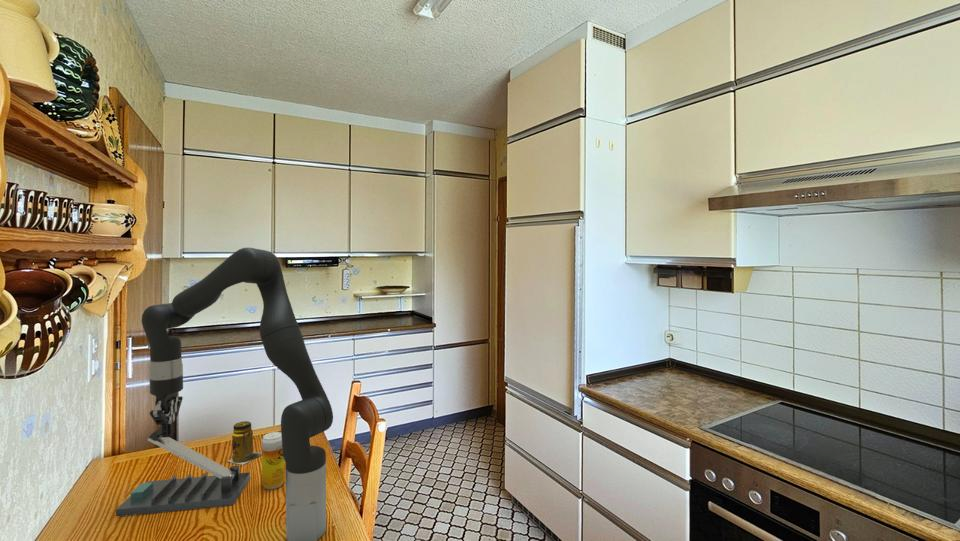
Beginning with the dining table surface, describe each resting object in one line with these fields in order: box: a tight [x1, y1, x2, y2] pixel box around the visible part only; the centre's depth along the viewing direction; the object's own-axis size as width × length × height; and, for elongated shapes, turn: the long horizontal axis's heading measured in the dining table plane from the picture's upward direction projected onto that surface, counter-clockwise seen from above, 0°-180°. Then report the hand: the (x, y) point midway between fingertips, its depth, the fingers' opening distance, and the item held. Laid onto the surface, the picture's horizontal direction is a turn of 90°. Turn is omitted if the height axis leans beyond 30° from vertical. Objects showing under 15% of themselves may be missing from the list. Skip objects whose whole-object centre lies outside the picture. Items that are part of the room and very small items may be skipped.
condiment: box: [227, 421, 262, 466], centre depth 143 cm, size 7×8×12 cm
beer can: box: [261, 431, 286, 490], centre depth 127 cm, size 6×6×15 cm
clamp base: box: [115, 465, 251, 517], centre depth 120 cm, size 14×28×6 cm, turn 102°
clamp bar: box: [147, 426, 236, 479], centre depth 120 cm, size 5×25×2 cm
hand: (167, 436), depth 119 cm, fingers closed
